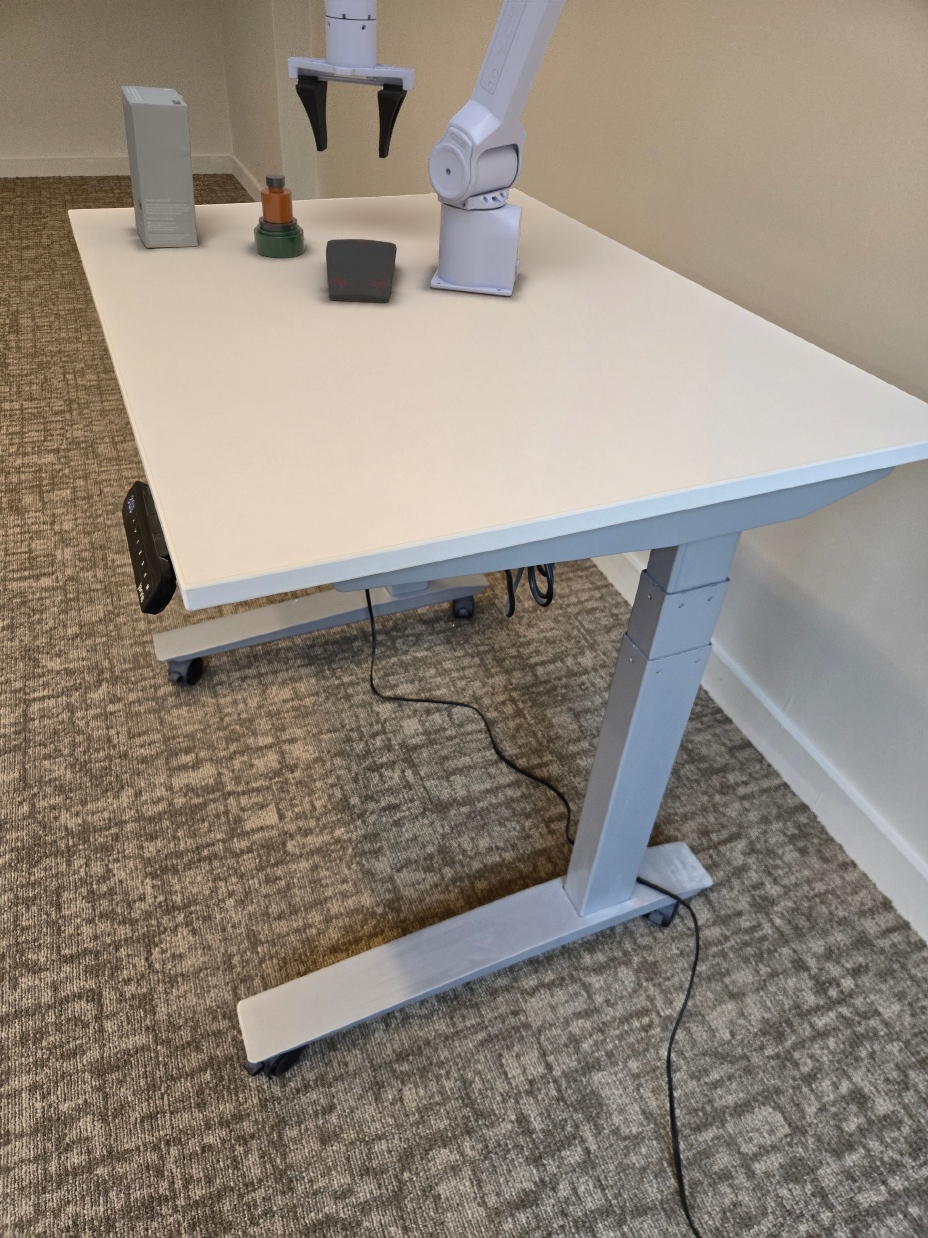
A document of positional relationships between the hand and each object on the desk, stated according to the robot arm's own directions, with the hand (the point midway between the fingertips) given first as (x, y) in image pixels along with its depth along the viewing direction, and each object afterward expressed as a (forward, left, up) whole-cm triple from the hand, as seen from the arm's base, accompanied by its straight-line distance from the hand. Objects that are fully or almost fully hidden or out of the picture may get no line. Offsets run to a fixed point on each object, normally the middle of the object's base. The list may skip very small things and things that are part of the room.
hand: (352, 152), depth 105 cm
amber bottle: (+8, +6, -7) cm, 12 cm away
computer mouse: (-4, +14, -11) cm, 18 cm away
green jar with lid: (+8, +6, -10) cm, 14 cm away
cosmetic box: (+22, +6, -11) cm, 25 cm away
